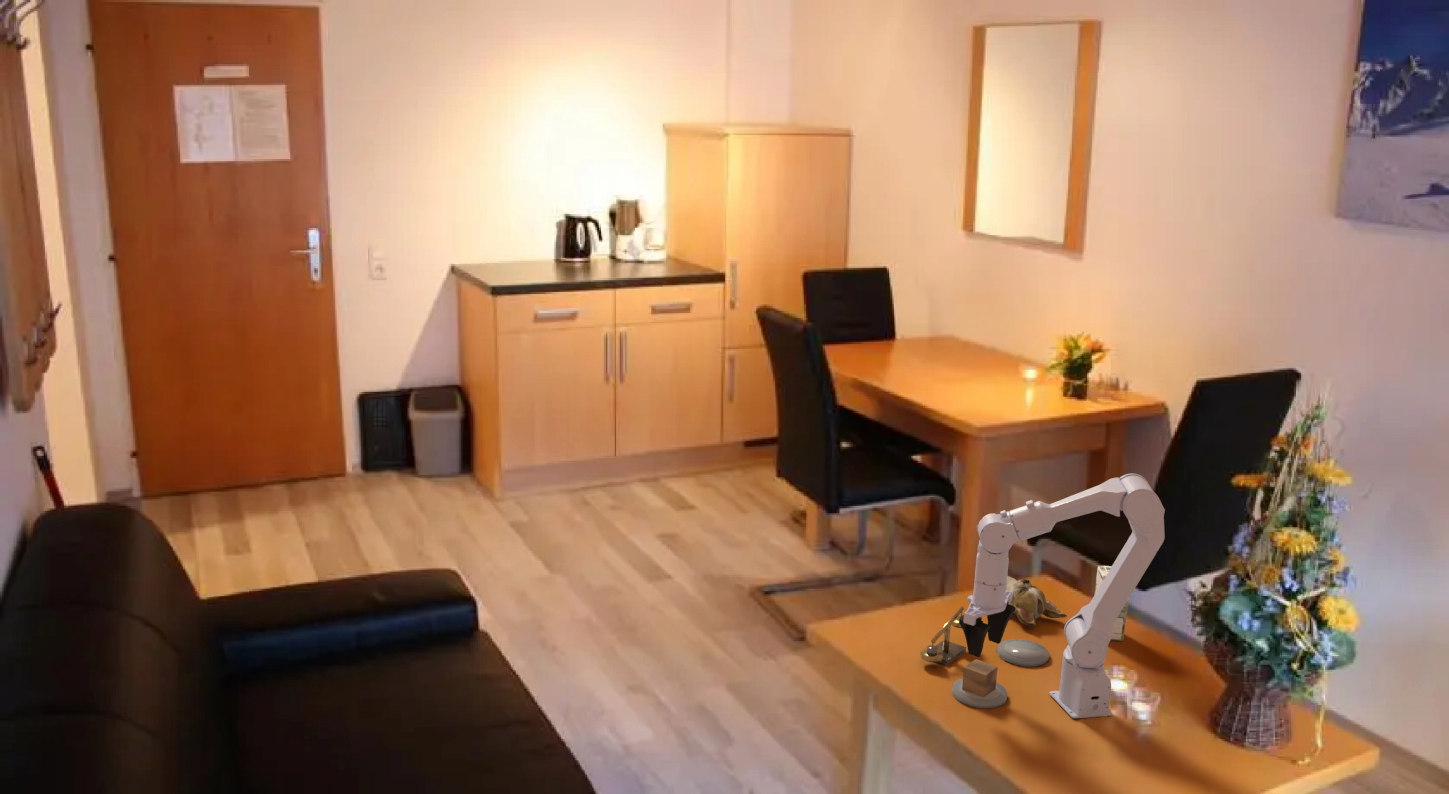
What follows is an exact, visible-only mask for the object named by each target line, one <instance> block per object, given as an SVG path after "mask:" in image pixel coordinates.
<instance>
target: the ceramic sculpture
mask: <svg viewBox="0 0 1449 794" xmlns="http://www.w3.org/2000/svg"><path fill="white" fill-rule="evenodd" d="M1006 590H1007V591H1010V592H1012V599H1011V602H1010V603H1008V604H1009V605H1012V606H1014V607H1015V612H1014V613H1013V614H1015V616H1016V618H1017V620H1018V621H1019V622H1020V623H1021V624H1022V625H1024V626H1028V627H1036V626H1037V625H1036V623H1037V622H1036V621H1037V619H1039V618H1040V617H1042V615H1043V616H1045V617H1046V618H1049V619H1063V618H1066V617H1067V614H1065V613H1063V612H1061V611H1060V609H1058V608H1057V605H1055V604H1054V603H1052V602H1051V600H1048V599H1046V598H1047V597H1046V596H1045V593H1044V591H1042V590H1041V589H1039V587H1037V586H1035V585H1033V584H1032V583H1031V581H1030V579H1026V578H1025V579H1019V580H1016V579H1015V578H1013V577H1012V576H1010V575H1007V585H1006Z"/></svg>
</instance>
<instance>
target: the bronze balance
mask: <svg viewBox="0 0 1449 794" xmlns="http://www.w3.org/2000/svg"><path fill="white" fill-rule="evenodd" d="M964 610H965V608H964V607H963V606H960V607H959V608H958V609H957V611H955V613H954V614H953V615H952V616H951V617H950V618H949V619H948V621H946V622H945V623H944V625H943V626H942V627H941V628H940V630H939V631H938V632H937V633H936V634H935V636H933V637H932V638H931V640H930V643H931V644H928V645H927V646H926V649H922V650H921V651H920V652H919V653H920V655H919V657H920V659H922V660H923V661H925V662H929V663H938V664H941V665H943V666H944V665H945V666H949V665H950V664H951V663H953V662H954V661H956V660H957V659H959V657H961V656H963V655H964V654H965V653H966V652H967V646H965V645H961V644H958V643H954V642H951V641H950V637H951V626H952V627H954V628H957V629H962V627H961V625H960V624H959V618H960V617H961V616H963V614H964V613H963V612H964ZM942 635H943V640H941V641H940V642H939V643H936V642H937V641H938V639H940V637H941V636H942ZM935 643H936V645H934V644H935Z"/></svg>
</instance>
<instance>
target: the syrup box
mask: <svg viewBox="0 0 1449 794" xmlns="http://www.w3.org/2000/svg"><path fill="white" fill-rule="evenodd" d="M1111 567H1112V565H1110V566H1109V565H1098V566H1097V570H1096V571H1097V572H1096V579H1095V587H1094V594H1093V595H1095V594H1096V592H1097V590H1098V589H1099V587H1100V585H1101V584H1102V582H1103V580H1104V579H1105V577H1106V575H1107V574H1108V572H1109V570H1110V569H1111ZM1129 599H1130V598H1129ZM1129 599H1128V600H1127V602H1126V604H1125V605H1124V607H1123V608H1122V610H1121V612H1120V613H1119V615H1118V617H1117V618H1116V620H1115V622H1114V627H1113V634H1112V638H1111V640H1110V641H1116V642H1117V641H1118V642H1119V641H1120V642H1122V641H1124V638H1125V632H1126V631H1125V630H1126V621H1127V615H1128V609H1129V608H1128V607H1129V601H1130V600H1129Z"/></svg>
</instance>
